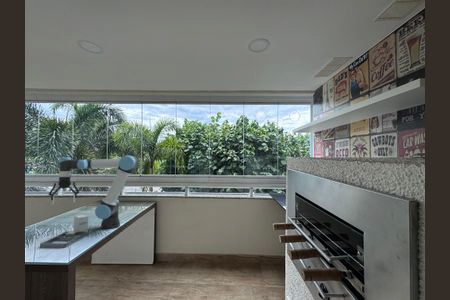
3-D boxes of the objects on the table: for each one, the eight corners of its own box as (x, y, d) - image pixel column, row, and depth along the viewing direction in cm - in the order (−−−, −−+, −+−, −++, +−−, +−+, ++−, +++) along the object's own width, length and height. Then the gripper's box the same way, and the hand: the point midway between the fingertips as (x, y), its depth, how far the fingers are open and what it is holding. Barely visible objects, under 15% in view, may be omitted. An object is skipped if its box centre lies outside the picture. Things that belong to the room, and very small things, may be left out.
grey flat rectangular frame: (66, 234, 178) (66, 231, 178) (87, 234, 178) (87, 231, 178) (39, 247, 151) (40, 243, 151) (65, 247, 151) (65, 243, 152)
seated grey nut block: (77, 236, 174) (78, 231, 174) (73, 239, 168) (73, 233, 168) (69, 236, 174) (70, 231, 174) (64, 239, 168) (64, 233, 168)
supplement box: (77, 234, 179) (78, 217, 180) (72, 232, 183) (73, 216, 184) (87, 232, 186) (88, 215, 186) (82, 230, 189) (83, 214, 190)
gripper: (82, 175, 198) (81, 201, 197) (45, 176, 183) (44, 204, 182) (83, 176, 192) (82, 202, 191) (45, 177, 177) (44, 205, 176)
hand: (63, 203), depth 187 cm, fingers open, 13 cm apart
